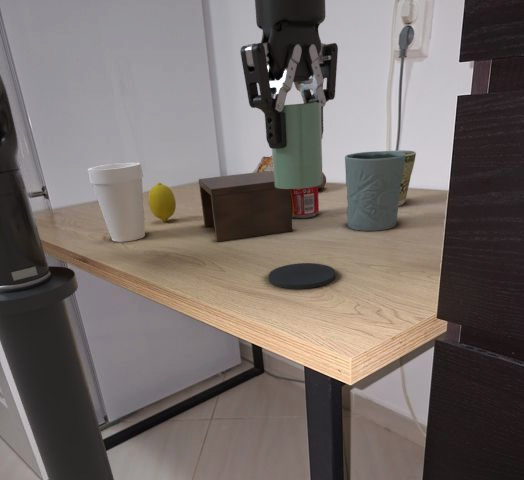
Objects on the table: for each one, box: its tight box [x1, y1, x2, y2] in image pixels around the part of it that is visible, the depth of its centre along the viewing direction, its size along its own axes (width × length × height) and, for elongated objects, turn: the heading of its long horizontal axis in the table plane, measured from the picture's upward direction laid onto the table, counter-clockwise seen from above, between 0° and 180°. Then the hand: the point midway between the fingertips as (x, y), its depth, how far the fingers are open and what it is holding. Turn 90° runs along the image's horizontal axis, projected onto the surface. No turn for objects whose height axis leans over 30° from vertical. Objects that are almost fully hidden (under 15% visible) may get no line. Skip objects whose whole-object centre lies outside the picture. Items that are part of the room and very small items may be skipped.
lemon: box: [148, 182, 177, 223], centre depth 104 cm, size 6×6×8 cm
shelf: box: [198, 171, 293, 243], centre depth 93 cm, size 14×14×9 cm
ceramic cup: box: [393, 149, 417, 207], centre depth 104 cm, size 13×10×10 cm
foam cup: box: [87, 161, 146, 243], centre depth 93 cm, size 10×9×13 cm
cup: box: [271, 102, 323, 189], centre depth 60 cm, size 6×6×9 cm
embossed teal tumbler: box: [344, 150, 406, 232], centre depth 87 cm, size 10×10×12 cm
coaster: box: [268, 262, 337, 290], centre depth 67 cm, size 9×9×1 cm
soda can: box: [290, 186, 320, 219], centre depth 98 cm, size 6×6×12 cm
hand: (296, 144), depth 60 cm, fingers closed on cup, 6 cm apart
